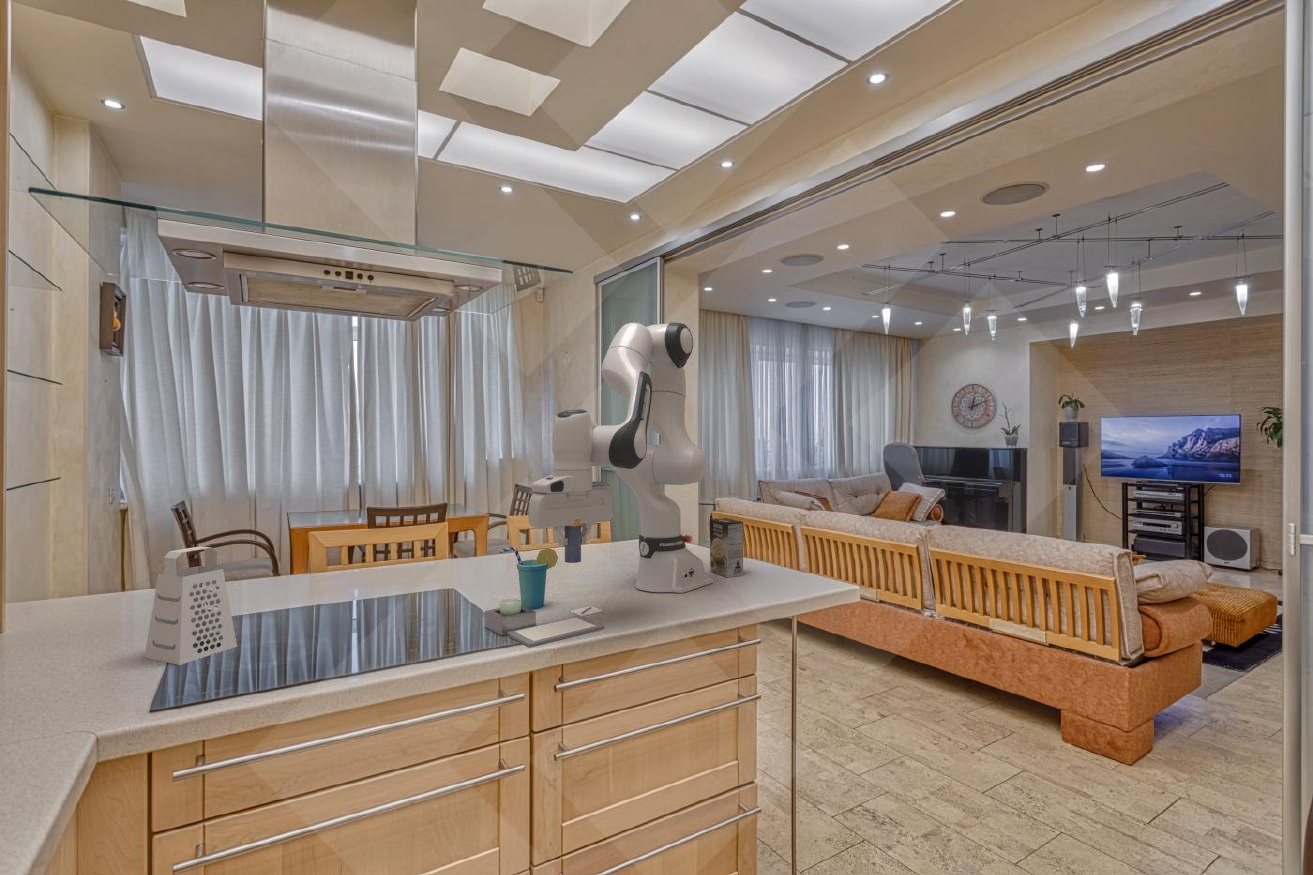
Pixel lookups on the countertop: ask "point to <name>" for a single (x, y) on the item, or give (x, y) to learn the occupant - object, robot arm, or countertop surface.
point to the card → (586, 611)
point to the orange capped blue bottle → (573, 542)
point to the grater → (189, 611)
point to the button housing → (509, 620)
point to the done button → (510, 607)
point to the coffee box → (726, 547)
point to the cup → (533, 576)
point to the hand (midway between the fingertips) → (572, 544)
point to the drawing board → (554, 631)
